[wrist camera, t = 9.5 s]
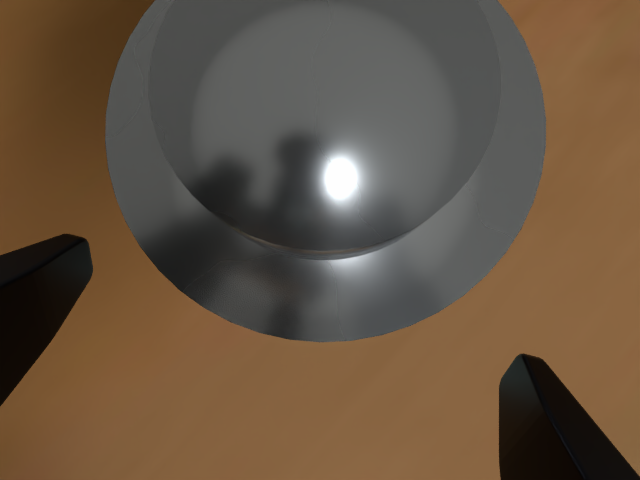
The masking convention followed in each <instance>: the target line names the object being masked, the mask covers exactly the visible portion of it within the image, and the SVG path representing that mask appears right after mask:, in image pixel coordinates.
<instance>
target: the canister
mask: <svg viewBox="0 0 640 480" xmlns="http://www.w3.org/2000/svg"><path fill="white" fill-rule="evenodd" d="M105 144H106V152H107V161H108V170H109V174H110V177H111V181H112V185H113V189H114V193H115V197H116V199H117V202H118V204H119V206H120V209H121V211H122V214H123V216H124V219H125V221H126V223H127V225H128V227H129V228H130V230H131V232H132V233H133V235H134V237H135V238H136V240H137V242H138V244H139V245H140V247H141V248H142V250H143V251H144V252H145V253H146V255H147V256H148V257H149V258H150V260H151V261H152V262H153V263H154V265H155V266H156V267H157V269H158V270H159V271H160V272H161V273H162V274H163V275H164V276H165V277H166V278H168V279H169V280H170V281H171V282H172V283H173V284H174V285H175V286H176V287H177V288H178V289H179V290H180V291H181V292H183V293H184V294H186V295H187V296H188V297H190V298H191V299H193V300H194V301H195V302H197V303H198V304H199V305H201V306H202V307H204V308H205V309H207V310H209V311H211V312H213V313H215V314H217V315H218V316H220V317H222V318H224V319H226V320H228V321H230V322H232V323H235V324H237V325H240V326H243V327H245V328H248V329H251V330H253V331H256V332H259V333H263V334H267V335H272V336H276V337H281V338H285V339H290V340H302V341H313V342H333V341H352V340H357V339H363V338H368V337H374V336H379V335H383V334H386V333H389V332H393V331H396V330H399V329H402V328H405V327H408V326H411V325H413V324H415V323H417V322H419V321H421V320H423V319H425V318H427V317H429V316H432V315H434V314H436V313H438V312H439V311H441V310H442V309H444V308H445V307H447V306H448V305H450V304H451V303H453V302H454V301H456V300H457V299H459V298H461V297H462V296H464V295H465V294H466V293H467V292H468V291H469V290H470V289H471V288H473V287H474V286H475V285H476V284H477V283H478V282H479V281H481V280H482V279H483V278H484V277H485V276H486V275H487V274H488V273H489V272H490V270H491V269H492V268H493V267H494V266H495V265H496V263H497V262H498V261H499V260H500V259H501V258H502V256H503V255H504V254H505V253H506V251H507V250H508V248H509V247H510V245H511V244H512V242H513V241H514V239H515V237H516V236H517V234H518V233H519V231H520V230H521V228H522V226H523V223H524V221H525V219H526V217H527V215H528V213H529V210H530V208H531V206H532V204H533V201H534V198H535V195H536V191H537V188H538V185H539V181H540V178H541V174H542V167H543V161H544V154H545V148H546V117H545V109H544V101H543V94H542V89H541V85H540V82H539V78H538V74H537V71H536V67H535V64H534V62H533V60H532V57H531V55H530V52H529V50H528V48H527V45H526V43H525V41H524V39H523V37H522V36H521V34H520V32H519V30H518V29H517V27H516V25H515V24H514V22H513V20H512V19H511V17H510V16H509V14H508V13H507V12H506V11H505V9H504V8H503V7H502V5H501V4H500V3H499V2H498V0H155V1H154V2H153V3H152V5H151V6H150V7H149V8H148V10H147V11H146V12H145V13H144V15H143V16H142V18H141V19H140V21H139V23H138V24H137V26H136V27H135V29H134V31H133V32H132V34H131V35H130V37H129V39H128V41H127V44H126V46H125V48H124V50H123V52H122V55H121V57H120V59H119V61H118V64H117V67H116V71H115V74H114V77H113V81H112V84H111V87H110V93H109V99H108V105H107V111H106V134H105Z"/></svg>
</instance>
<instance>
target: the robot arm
mask: <svg viewBox="0 0 640 480" xmlns="http://www.w3.org/2000/svg"><path fill="white" fill-rule="evenodd" d="M92 273H93V265H92V259H91V254H90V248H89V243H88V241H87V240H86V239H85V238H83V237H79V236H75V235H71V234H62V235H59V236H56V237H53V238H50V239H47V240H44V241H41V242H39V243H36V244H33V245H30V246H27V247H24V248H21V249H18V250H15V251H12V252H9V253H6V254H3V255H0V406H1V405H2V404H3V402H4V401H5V400H6V399H7V397H8V396H9V395H10V393H11V392H12V391H13V390H14V388H15V387H16V386H17V384H18V383H19V382H20V381H21V379H22V378H23V377H24V375H25V374H26V373H27V372H28V370H29V369H30V368H31V367H32V365H33V364H34V363H35V361H36V360H37V359H38V358H39V356H40V355H41V354H42V352H43V351H44V350H45V349H46V347H47V346H48V345H49V343H50V342H51V341H52V339H53V338H54V336H55V335H56V333H57V332H58V330H59V329H60V327H61V325H62V324H63V322H64V321H65V319H66V317H67V316H68V314H69V313H70V311H71V309H72V308H73V306H74V305H75V303H76V301H77V300H78V298H79V297H80V295H81V293H82V292H83V290H84V289H85V287H86V285H87V284H88V282H89V280H90V279H91V276H92ZM499 465H500V477H501V480H640V477H639V475H638V474H637V473H636V472H635V470H634V469H633V468H632V467H631V466H630V464H629V463H628V462H627V461H626V460H625V458H624V457H623V456H622V455H621V453H620V452H619V451H618V450H617V449H616V447H615V446H614V445H613V444H612V443H611V441H610V440H609V439H608V438H607V436H606V435H605V434H604V433H603V432H602V430H601V429H600V428H599V427H598V425H597V424H596V423H595V422H594V421H593V419H592V418H591V417H590V416H589V415H588V413H587V412H586V411H585V410H584V408H583V407H582V406H581V405H580V404H579V402H578V401H577V400H576V399H575V398H574V396H573V395H572V394H571V393H570V391H569V390H568V389H567V388H566V387H565V385H564V384H563V383H562V382H561V380H560V379H559V378H558V377H557V376H556V374H555V373H554V372H553V371H552V370H551V368H550V367H549V366H548V365H547V363H546V362H545V361H544V360H543V359H541V358H539V357H535V356H531V355H527V354H519V355H518V356H517V357H516V358H515V359H514V361H513V362H512V364H511V365H510V367H509V368H508V369H507V371H506V372H505V374H504V375H503V377H502V379H501V381H500V385H499Z"/></svg>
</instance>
